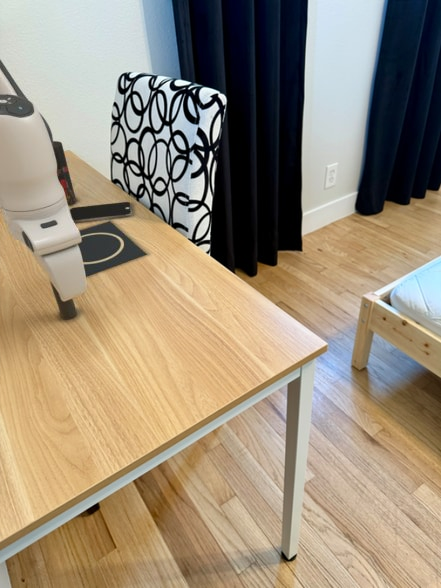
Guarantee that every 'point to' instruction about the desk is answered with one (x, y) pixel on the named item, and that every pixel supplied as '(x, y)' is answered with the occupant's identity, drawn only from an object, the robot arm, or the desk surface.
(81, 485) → the desk surface
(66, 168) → the deodorant
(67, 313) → the marker
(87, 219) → the smartphone
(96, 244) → the desk pad
